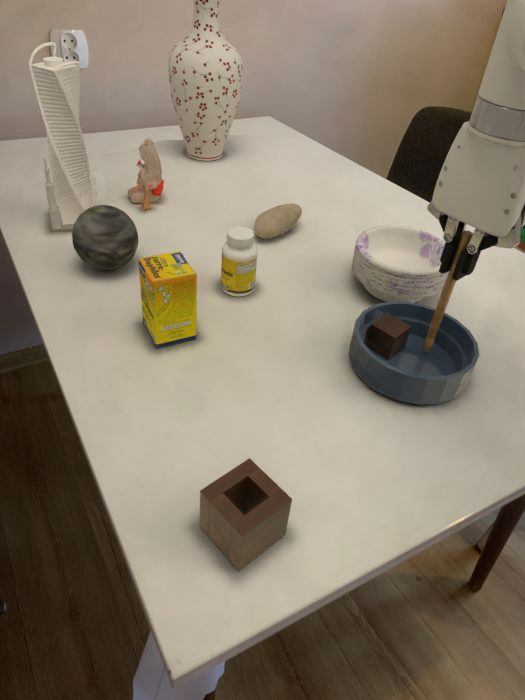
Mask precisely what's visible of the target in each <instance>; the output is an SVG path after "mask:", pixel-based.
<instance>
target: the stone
mask: <svg viewBox="0 0 525 700" xmlns="http://www.w3.org/2000/svg"><path fill="white" fill-rule="evenodd" d="M302 214H303V209H302V207H301V205H300V204H297V203H285V204H280V205H277V206H273V207H271V208H269V209H266V210H265V211H263V212H262V213H260V214H258V216H257V217H256V219H255V221H254V224H253V232H254V234H255V235H256V236H257V237H259V238H262V239H273V238H276V237H279V236H281V235H283V234H285V233H287V232H288V231H289V230H290V229H291V228H293V227H294V226H295V225H296V224H297V223H298V222H299V220H300V219H301V217H302Z"/></svg>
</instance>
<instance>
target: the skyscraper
mask: <svg viewBox="0 0 525 700" xmlns="http://www.w3.org/2000/svg"><path fill="white" fill-rule="evenodd" d="M50 46H51V47H53V49H52V50H53V52H52V56H46V57H43V58H42V60H43V61H40V62H36V63H33V60H34V57H35V55H36V53H38V51H40V50H41V49H43V48H47V47H50ZM56 55H57V43H56V42H54V41H48V42H45V43H41V44H39V45H38V46H36V47H35V48H34V50H33V51H32V53H31V55H30V57H29V61H28V67H29V68H28V69H29V71H30V76H31V79H32V83H33V87H34V91H35V96H36V99H37V104H38V106H39V110H40V113H41V116H42V119H43V122H44V126H45V129H46V144H47V145H46V146H47V152H48V161H49V167H48V164H47V159H46V157H43V164H44V168H43V171H44V175H45V183H44V187H45V193H46V199H47V204H48V212H49V218H50V225H51V233H61V232H63V233H64V232H65V233H66V232H72V229H73V226H74V223H75V221H76V220H77V218H78V217H79V215H80V214H81V213H82V212H84V211H85V210H87V209H88V208H91V207H93V196H92V195H93V194H92V179H91V178H92V177H91V169H90V168H91V167H90V162H89V155H88V150H87V146H86V142H85V138H84V135H83V131H82V127H81V125H80V117H81V116H80V115H81V114H80V113H81V64H80V62H79V61H78V60H71V61H70V60H69V61H67V62H65V61H64V58H62V57H59V56H56ZM51 178H52V179H51Z"/></svg>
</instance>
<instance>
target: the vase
mask: <svg viewBox="0 0 525 700" xmlns="http://www.w3.org/2000/svg"><path fill="white" fill-rule="evenodd" d="M220 2H221V0H193V17H192V21H191V26H190V29H189V31H188V33H187V35H185V37H183V38H182V39H181V40H179V41H178V42H177V43H176V44H174V45H172V48H171V49H170V51H169V54H168V65H167V66H168V67H167V71H168V72H167V73H168V81H169V91H170V99H171V103H172V106H173V109H174V112H175V116H176V118H177V122H178V126H179V129H180V131H181V136H182V138H183V142H184V145H185V148H186V155H187V157H189V158H191V159H194V160H197V161H202V162H203V161H204V162H206V161H207V162H208V161H209V162H211V161H216V160H219V159H221V158H222V157H223V154H224V153H223V152H224V148H225V145H226V142H227V139H228V137H229V134H230V131H231V129H232V128H231V127H232V125H233V122H234V119H235V116H236V114H237V111H238V107H239V104H240V101H241V95H242V86H243V77H244V70H243V69H244V68H243V60H242V57H241V55H240V54H239V51H238V50H237V48H236V47H234V46H233V45H232V44H231V43H230V42H229V41H228V40H227V39H226V37H225V36H224V34H223V32H222V27H221V23H220Z"/></svg>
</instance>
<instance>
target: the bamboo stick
mask: <svg viewBox="0 0 525 700" xmlns="http://www.w3.org/2000/svg"><path fill="white" fill-rule="evenodd" d="M473 233H474V232H473V231H470V230H466V229H465V231H463V233H462V236H461V239H460V241H459V244H458V247H457V250H456V253H455V256H454V259H453V261H452V264H451V267H450V270H449V273H448V275H447V278H446V281H445V284H444V287H443V289H442V290H441V291H440V295H439V298H438V301H437V304H436V307H435V312H434V315H433V318H432V321H431V323H430V326H429V329H428V332H427V335H426V338H425V340H424V343H423V346H422V350H423V351H426V352H429V351H430V350H431V348H432V345H433V342H434V340H435V337H436V334H437V331H438V329H439V326H440V323H441V321H442V318H443V315H444V313H446V309H447V306H448V304H449V301H450V298H451V296H452V293H453V291H454V288H455V285H456V282H457V281H456V280H454V279H452V274H453V272H454V269H455V266H456V263H457V261H458V258H459V255H460V252H461V251H462V250H464V249H466V247H467V245H468V244H469V242H470V240H471V237H472V235H473Z"/></svg>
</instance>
